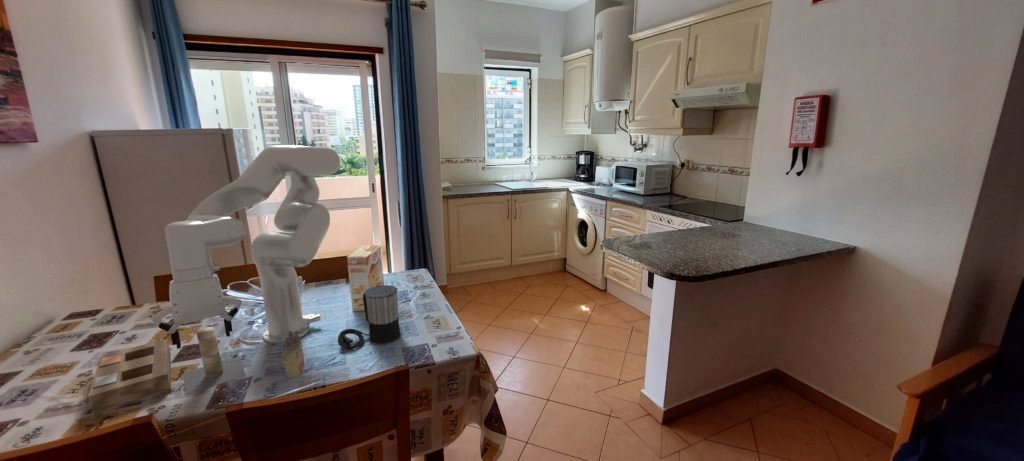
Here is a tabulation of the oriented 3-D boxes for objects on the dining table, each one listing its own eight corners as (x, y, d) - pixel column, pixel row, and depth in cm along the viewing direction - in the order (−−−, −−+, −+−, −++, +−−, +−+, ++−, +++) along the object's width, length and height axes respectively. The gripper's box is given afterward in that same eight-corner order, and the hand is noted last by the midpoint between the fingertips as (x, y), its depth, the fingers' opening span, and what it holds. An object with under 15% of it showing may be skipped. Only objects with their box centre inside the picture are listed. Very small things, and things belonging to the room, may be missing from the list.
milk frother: (407, 333, 123) (404, 287, 120) (369, 359, 109) (364, 307, 106) (372, 325, 129) (367, 280, 126) (331, 348, 115) (325, 299, 112)
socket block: (170, 355, 112) (167, 337, 111) (171, 392, 96) (166, 372, 95) (105, 372, 104) (100, 354, 103) (93, 416, 88) (87, 395, 87)
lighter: (299, 377, 101) (294, 341, 99) (282, 380, 100) (277, 343, 98) (306, 362, 108) (301, 328, 106) (290, 364, 107) (285, 329, 105)
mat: (239, 357, 111) (239, 356, 111) (246, 377, 102) (246, 375, 102) (183, 374, 103) (183, 372, 103) (185, 396, 94) (185, 395, 94)
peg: (222, 368, 105) (214, 325, 102) (223, 374, 102) (215, 330, 100) (205, 373, 103) (196, 330, 100) (206, 380, 100) (196, 335, 97)
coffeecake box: (372, 311, 139) (366, 256, 135) (351, 311, 139) (345, 256, 135) (385, 294, 154) (381, 244, 149) (367, 294, 154) (362, 244, 150)
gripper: (235, 263, 104) (243, 325, 108) (145, 276, 94) (158, 345, 97) (238, 270, 99) (248, 335, 102) (143, 285, 88) (157, 357, 91)
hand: (204, 340), depth 100 cm, fingers open, 9 cm apart
